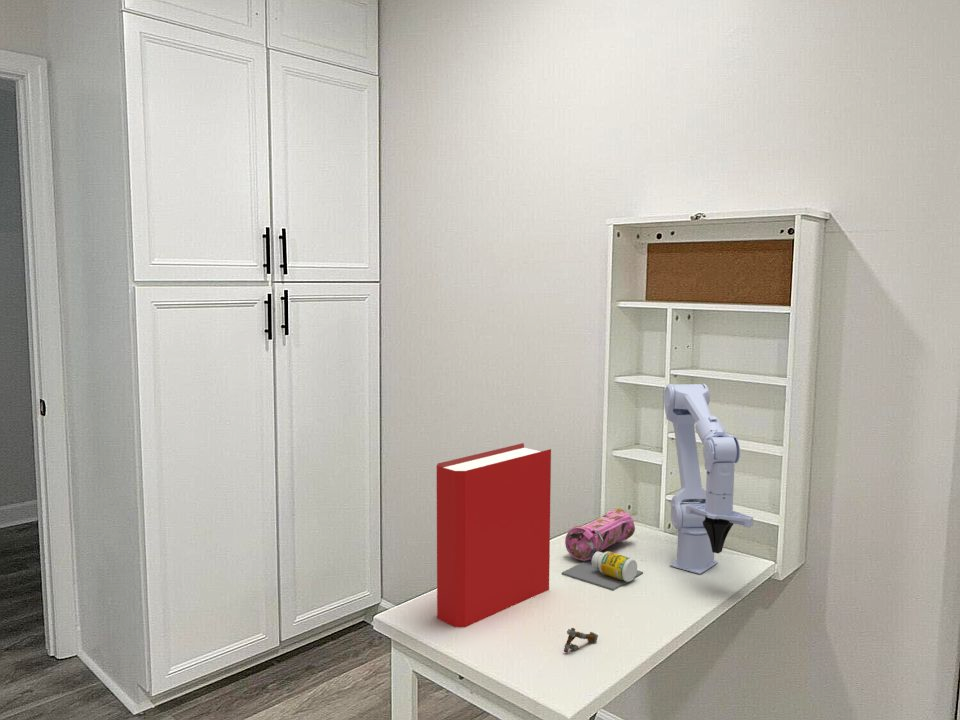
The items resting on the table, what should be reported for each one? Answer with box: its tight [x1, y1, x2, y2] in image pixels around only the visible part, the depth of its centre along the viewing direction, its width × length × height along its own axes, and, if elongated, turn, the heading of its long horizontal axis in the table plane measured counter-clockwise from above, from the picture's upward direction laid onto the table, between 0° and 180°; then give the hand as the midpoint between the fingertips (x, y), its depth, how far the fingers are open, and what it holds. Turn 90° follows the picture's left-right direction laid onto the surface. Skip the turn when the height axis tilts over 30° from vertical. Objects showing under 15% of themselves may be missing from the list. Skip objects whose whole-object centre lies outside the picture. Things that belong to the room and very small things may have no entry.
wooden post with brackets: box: [563, 627, 599, 654], centre depth 150 cm, size 2×8×4 cm, turn 130°
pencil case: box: [564, 507, 636, 562], centre depth 200 cm, size 21×9×9 cm, turn 142°
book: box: [436, 442, 552, 628], centre depth 168 cm, size 27×8×32 cm, turn 135°
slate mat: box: [561, 558, 644, 591], centre depth 186 cm, size 13×14×1 cm
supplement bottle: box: [592, 551, 638, 583], centre depth 183 cm, size 5×5×10 cm
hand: (717, 551), depth 174 cm, fingers closed
